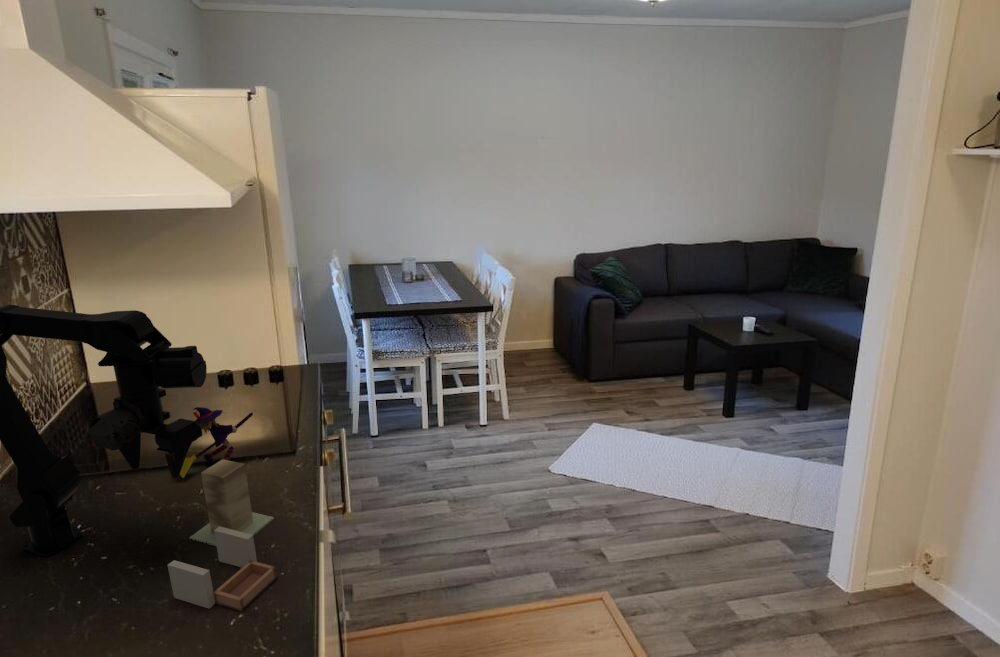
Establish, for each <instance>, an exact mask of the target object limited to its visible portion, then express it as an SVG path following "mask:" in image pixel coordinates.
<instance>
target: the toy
mask: <svg viewBox="0 0 1000 657" xmlns="http://www.w3.org/2000/svg"><path fill="white" fill-rule="evenodd" d="M192 410H193V411H194V410H196V411H194V412H193V415H194V417H195V418H196V419H195V420H194V421H196V422H198V423H200V424H201V428H202V430H203V431H204V434H207V433H209V432H210V434H211V437H212V438H213V440H214V442H213V443H212V444H211V445H209V446H208V447H206V448H204V449H202V451H200V452H199V453H197V454H195V453H193V454H192V456H190V457H186V458H185V460H184V463H183V466H182V469H181V472H180V475H179V476H180V477H181V478H182V479H184V478H185V477H186V475H187V474H188V471H189V469H190V468H191V467H192V465H193V464H194V463H195V462H196V461H198V460H200V458H199V457H201V456H202V455H203V456H202V457H203V459H204V460H205V461H206V462H208V464H210V463H212V464H213V463H214V462H215V460H214V457H215V456H216V455H218V454H220V453H222V452H223V451H225V450H227V451H226V453H225V455H224V457H223V459H224V460H228V461H229V458H231V455H232V453H234V450H235V448H234V447H233V445H232V444H231V443H230V441H229V440H228V439H227V438H228V436H229V435H231V434H235V433H237V431H238V428H240V427H241V426H242V425H243V424H245V422H247V421H248V420H249V419H250V418H251V417H253V415H254V412H250V413H249V414H247V416H245V417H243V419H241V420H240V421H239V422H238V423H237V424H235V425H233V424H220V423H219V422H218V423H217V422H216V419H217V418H218V417H220V416H221V415H222V413H223V411H224V410H222V409H215V410H211V409H209V408H207V407H199V406H196V407H195V408H193V409H192ZM214 446H215V447H216V448H217V449H214V450H213V451H212V452H210V453H206V452H208V451H209V450H210V449H212V448H213V447H214Z"/></svg>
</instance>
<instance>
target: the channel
mask: <svg viewBox="0 0 1000 657" xmlns="http://www.w3.org/2000/svg"><path fill="white" fill-rule="evenodd" d="M214 534H215V540H216V546H215V547H216V551H217V558H218V562H220V563H223V564H228V565H231V566H235V567H238V568H240V569H241V568H243V567H244V566H245V565H246V564H247V563H248V562H250V561H251V560H252V561H255V562H258V560H257V553H256V552H257V551H256V547H255V541H254V536H253V535H251V534H247V533H243V532H239V531H235V530H232V529H228V528H224V527H220V526H219V527H218V528H216V529H215V530H214ZM167 569H168V574H169V580H170V585H171V588H172V595H173V598H174V599H177V600H180V601H183V602H186V603H189V604H192V605H196V606H199V607H202V608H204V609H205V608H206V609H211V608H212V607H213V606H215V599H214V593H213V592H214V588H213V582H212V577H211V572H210V569H206V568H202V567H199V566H196V565H192V564H189V563H185V562H182V561H178V560H175V559H174V560H172V561H171V562H169V563H168V564H167Z"/></svg>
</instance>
